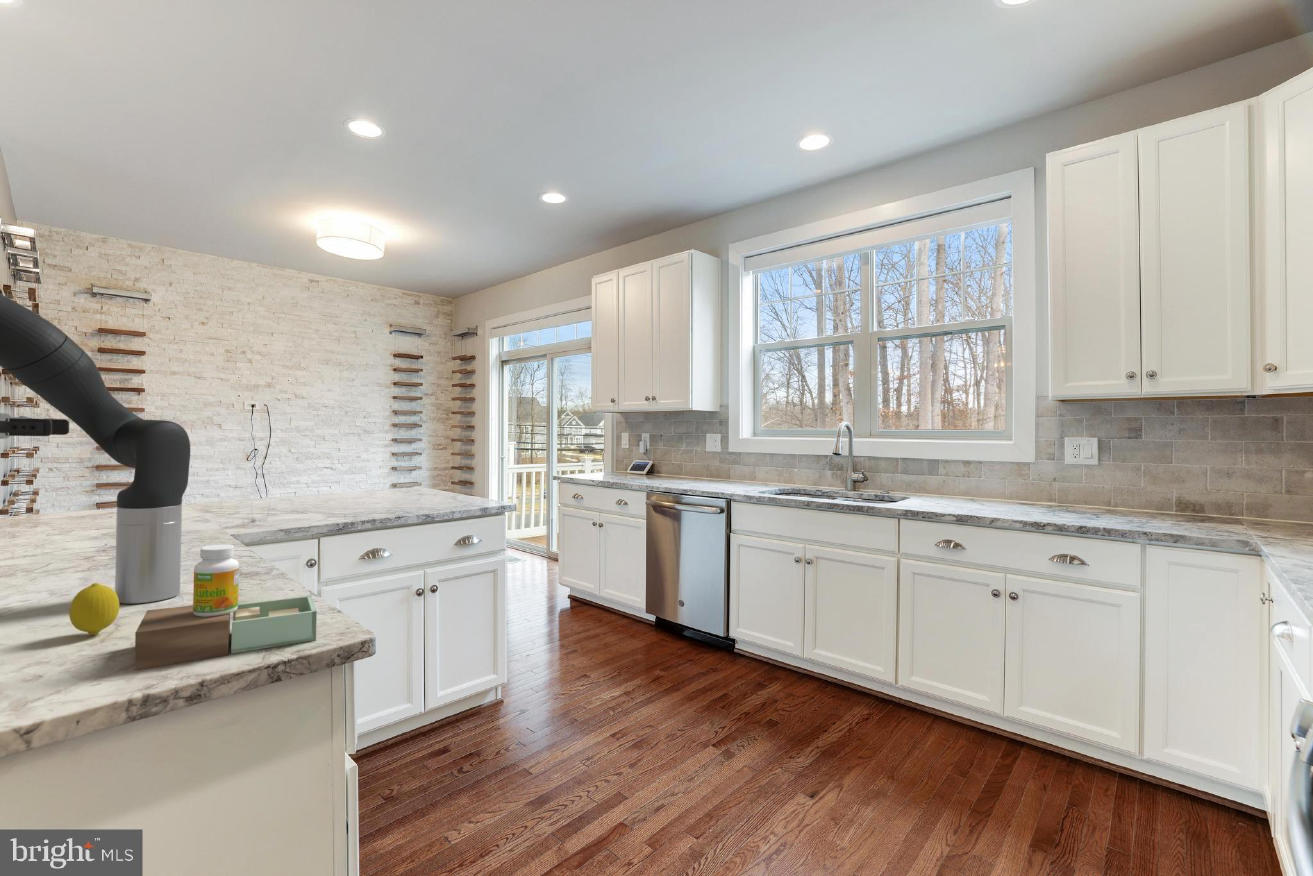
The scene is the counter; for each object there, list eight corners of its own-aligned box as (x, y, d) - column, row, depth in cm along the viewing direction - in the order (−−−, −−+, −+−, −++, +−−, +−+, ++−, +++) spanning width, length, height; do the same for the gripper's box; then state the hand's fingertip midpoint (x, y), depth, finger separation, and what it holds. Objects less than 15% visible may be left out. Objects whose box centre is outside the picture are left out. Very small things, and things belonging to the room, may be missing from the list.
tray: (232, 632, 92) (233, 604, 92) (310, 621, 98) (311, 595, 98) (231, 653, 84) (231, 622, 84) (315, 640, 90) (316, 611, 90)
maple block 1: (235, 609, 90) (259, 606, 91) (235, 635, 90) (258, 632, 91) (235, 616, 86) (259, 613, 88) (234, 643, 86) (259, 639, 88)
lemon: (87, 643, 86) (88, 589, 86) (58, 639, 87) (60, 586, 87) (128, 630, 92) (129, 580, 92) (100, 627, 93) (101, 577, 93)
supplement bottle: (187, 619, 83) (188, 551, 83) (199, 608, 88) (200, 544, 88) (232, 615, 85) (234, 549, 85) (242, 605, 90) (243, 542, 90)
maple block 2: (298, 607, 95) (297, 626, 95) (268, 611, 92) (268, 630, 92) (299, 614, 91) (299, 633, 91) (268, 618, 89) (268, 638, 89)
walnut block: (146, 643, 87) (147, 610, 87) (229, 632, 92) (230, 600, 92) (134, 669, 78) (135, 632, 78) (227, 655, 83) (228, 620, 83)
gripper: (-164, 389, 64) (46, 398, 73) (-100, 394, 76) (74, 401, 85) (-165, 457, 64) (45, 457, 73) (-101, 452, 76) (73, 452, 85)
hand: (60, 427), depth 79 cm, fingers open, 8 cm apart
